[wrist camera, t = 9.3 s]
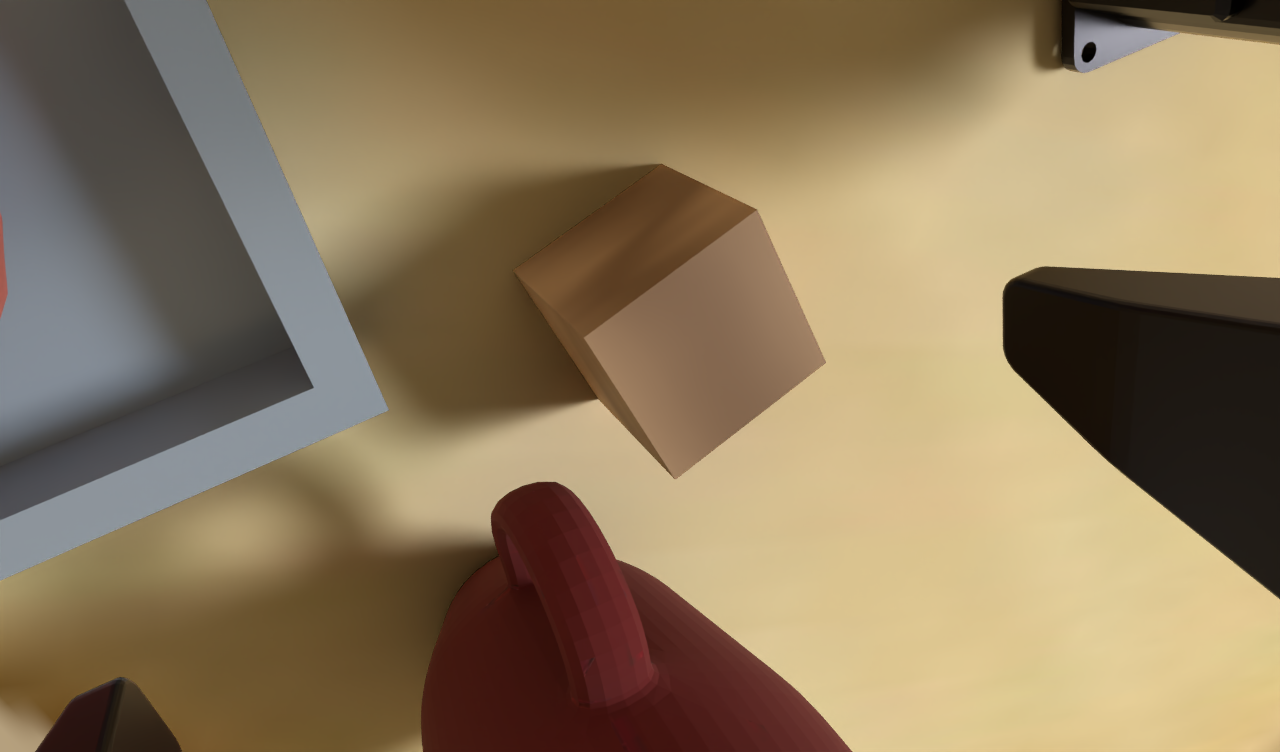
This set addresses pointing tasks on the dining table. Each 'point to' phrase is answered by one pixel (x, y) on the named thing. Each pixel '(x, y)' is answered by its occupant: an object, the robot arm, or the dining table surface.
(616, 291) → the walnut block
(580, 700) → the mug
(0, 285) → the apple
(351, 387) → the dish
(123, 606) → the dining table surface
